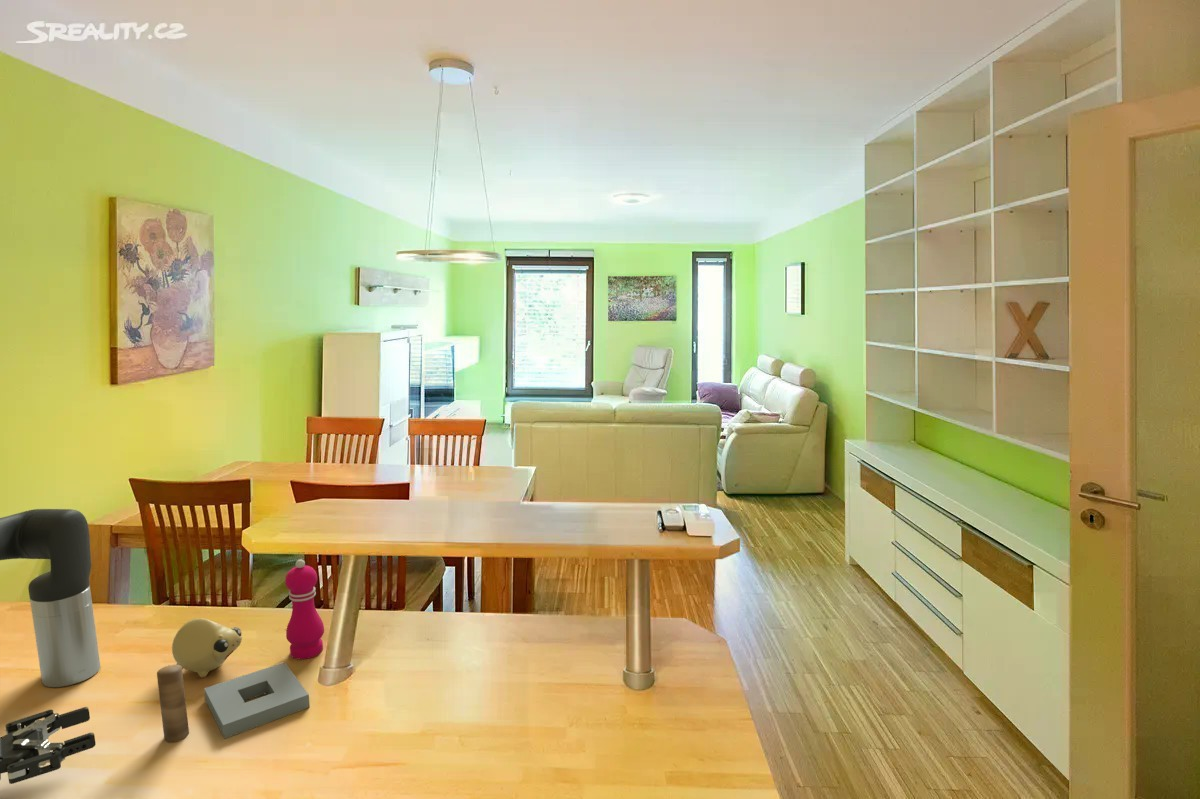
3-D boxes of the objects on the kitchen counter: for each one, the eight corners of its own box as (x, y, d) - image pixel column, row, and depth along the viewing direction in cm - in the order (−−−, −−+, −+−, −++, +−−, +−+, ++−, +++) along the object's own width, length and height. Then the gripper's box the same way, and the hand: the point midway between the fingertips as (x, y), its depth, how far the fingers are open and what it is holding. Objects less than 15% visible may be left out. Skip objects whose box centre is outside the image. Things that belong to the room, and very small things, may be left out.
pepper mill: (297, 642, 153) (290, 552, 150) (331, 642, 153) (324, 553, 150) (281, 660, 146) (273, 566, 143) (316, 661, 146) (310, 567, 142)
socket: (205, 700, 133) (204, 688, 132) (285, 674, 141) (284, 662, 141) (224, 738, 122) (223, 725, 122) (309, 707, 131) (308, 694, 130)
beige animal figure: (223, 685, 137) (218, 633, 136) (163, 682, 139) (157, 630, 137) (252, 658, 147) (248, 609, 145) (197, 655, 148) (191, 606, 146)
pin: (162, 734, 123) (155, 669, 121) (186, 726, 125) (179, 662, 123) (166, 745, 120) (158, 678, 118) (191, 736, 123) (183, 671, 120)
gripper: (-51, 772, 98) (94, 725, 108) (-47, 722, 109) (84, 684, 119) (-43, 821, 100) (100, 770, 110) (-40, 767, 110) (90, 725, 121)
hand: (91, 725), depth 114 cm, fingers open, 8 cm apart
